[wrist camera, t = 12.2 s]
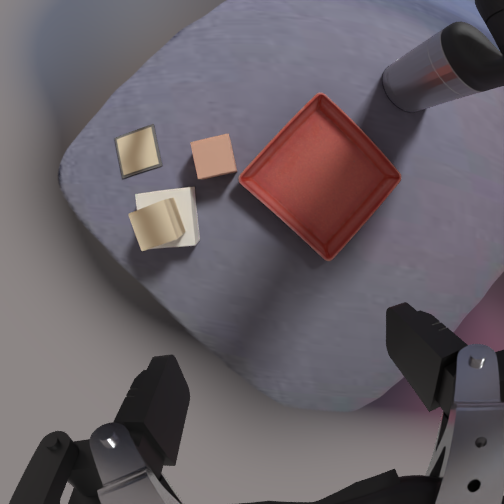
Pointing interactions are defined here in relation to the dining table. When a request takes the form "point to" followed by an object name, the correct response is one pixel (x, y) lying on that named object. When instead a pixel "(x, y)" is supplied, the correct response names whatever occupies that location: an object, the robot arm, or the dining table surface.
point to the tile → (138, 151)
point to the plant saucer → (321, 176)
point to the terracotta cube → (213, 156)
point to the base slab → (186, 210)
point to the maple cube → (157, 224)
